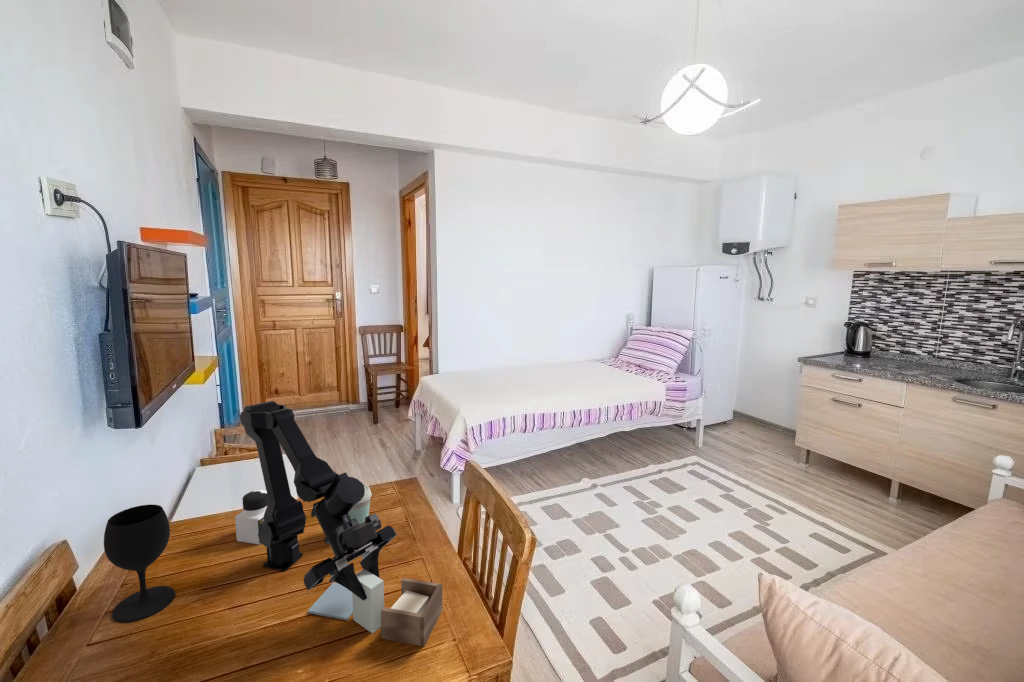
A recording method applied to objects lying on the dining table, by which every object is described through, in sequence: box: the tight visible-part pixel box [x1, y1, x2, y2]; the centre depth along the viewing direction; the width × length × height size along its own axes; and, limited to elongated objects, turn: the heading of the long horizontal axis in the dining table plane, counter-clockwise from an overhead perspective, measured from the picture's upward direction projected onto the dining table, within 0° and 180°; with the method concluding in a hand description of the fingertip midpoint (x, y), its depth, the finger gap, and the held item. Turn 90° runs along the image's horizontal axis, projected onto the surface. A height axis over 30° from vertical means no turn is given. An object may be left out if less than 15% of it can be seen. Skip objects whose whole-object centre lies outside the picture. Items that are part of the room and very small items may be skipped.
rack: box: [380, 577, 443, 647], centre depth 90 cm, size 9×10×6 cm
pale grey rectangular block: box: [352, 569, 385, 634], centre depth 90 cm, size 6×3×10 cm, turn 55°
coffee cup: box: [349, 483, 373, 524], centre depth 122 cm, size 8×8×12 cm
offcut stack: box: [390, 590, 429, 614], centre depth 90 cm, size 6×6×4 cm
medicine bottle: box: [234, 489, 269, 545], centre depth 119 cm, size 7×7×12 cm
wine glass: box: [103, 504, 176, 624], centre depth 93 cm, size 10×10×20 cm
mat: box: [307, 581, 353, 621], centre depth 96 cm, size 9×9×1 cm
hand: (372, 594), depth 89 cm, fingers closed on pale grey rectangular block, 3 cm apart
